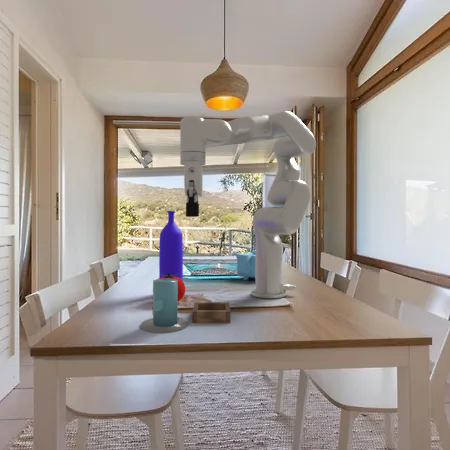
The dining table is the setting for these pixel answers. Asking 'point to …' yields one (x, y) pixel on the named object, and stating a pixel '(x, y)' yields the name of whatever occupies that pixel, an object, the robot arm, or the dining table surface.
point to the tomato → (180, 284)
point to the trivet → (149, 327)
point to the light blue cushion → (246, 265)
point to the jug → (165, 302)
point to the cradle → (211, 312)
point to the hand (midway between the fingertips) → (192, 216)
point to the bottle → (171, 249)
